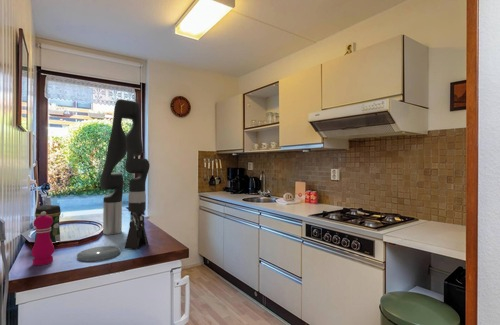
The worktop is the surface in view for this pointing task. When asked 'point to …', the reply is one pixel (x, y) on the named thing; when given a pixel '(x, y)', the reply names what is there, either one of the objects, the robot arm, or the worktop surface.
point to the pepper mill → (43, 240)
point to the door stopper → (135, 238)
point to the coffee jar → (55, 214)
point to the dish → (98, 253)
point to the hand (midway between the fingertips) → (136, 236)
